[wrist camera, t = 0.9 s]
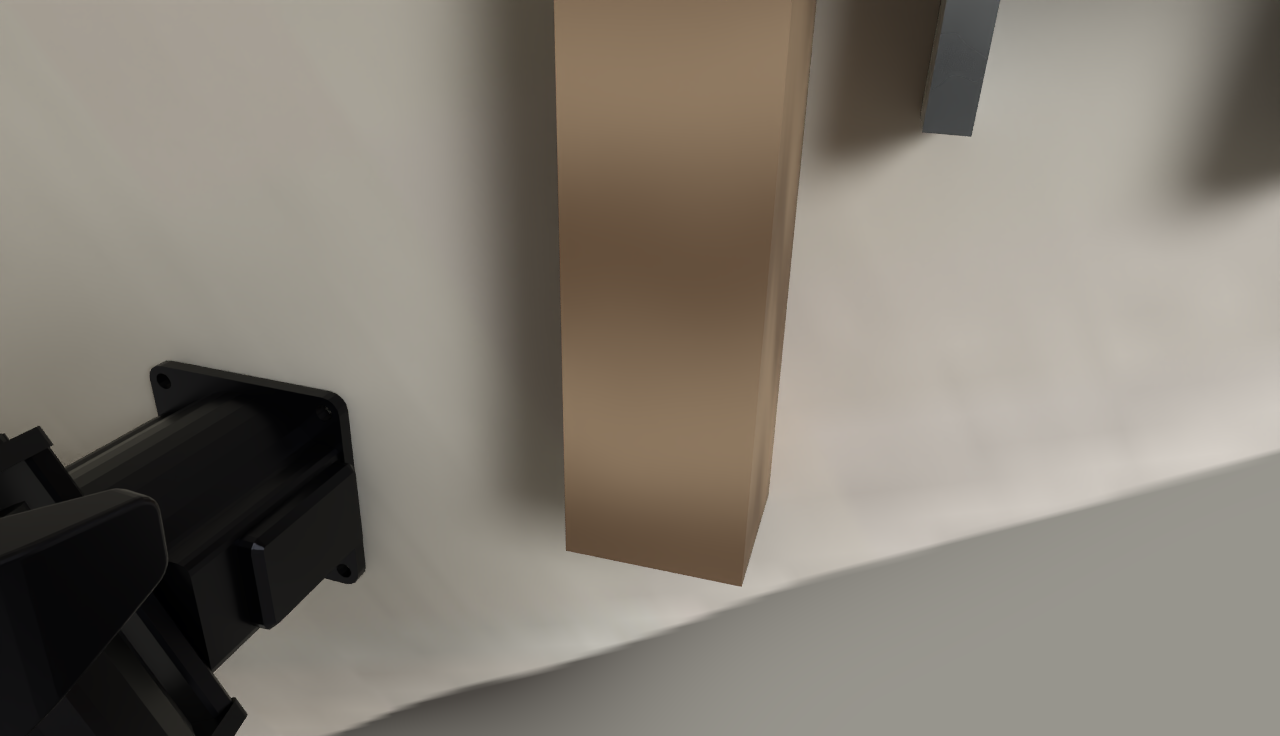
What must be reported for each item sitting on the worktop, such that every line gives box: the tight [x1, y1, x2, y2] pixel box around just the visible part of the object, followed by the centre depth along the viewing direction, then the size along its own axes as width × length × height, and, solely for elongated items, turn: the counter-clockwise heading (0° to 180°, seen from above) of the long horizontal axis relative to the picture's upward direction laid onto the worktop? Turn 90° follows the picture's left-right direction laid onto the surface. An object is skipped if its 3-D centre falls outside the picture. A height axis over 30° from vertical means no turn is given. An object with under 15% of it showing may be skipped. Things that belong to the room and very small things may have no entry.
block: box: [554, 0, 817, 587], centre depth 17 cm, size 14×4×4 cm, turn 179°
